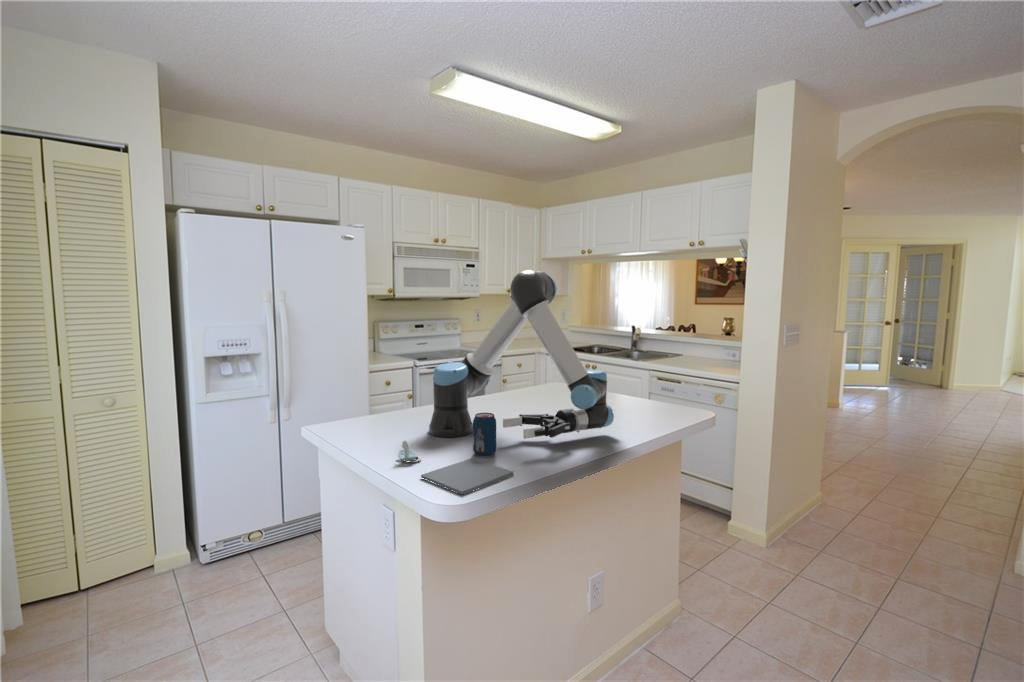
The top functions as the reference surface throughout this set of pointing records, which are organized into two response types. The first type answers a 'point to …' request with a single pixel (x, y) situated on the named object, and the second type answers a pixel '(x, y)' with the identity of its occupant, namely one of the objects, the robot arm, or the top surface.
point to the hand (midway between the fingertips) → (513, 428)
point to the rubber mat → (467, 475)
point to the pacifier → (407, 453)
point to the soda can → (484, 434)
